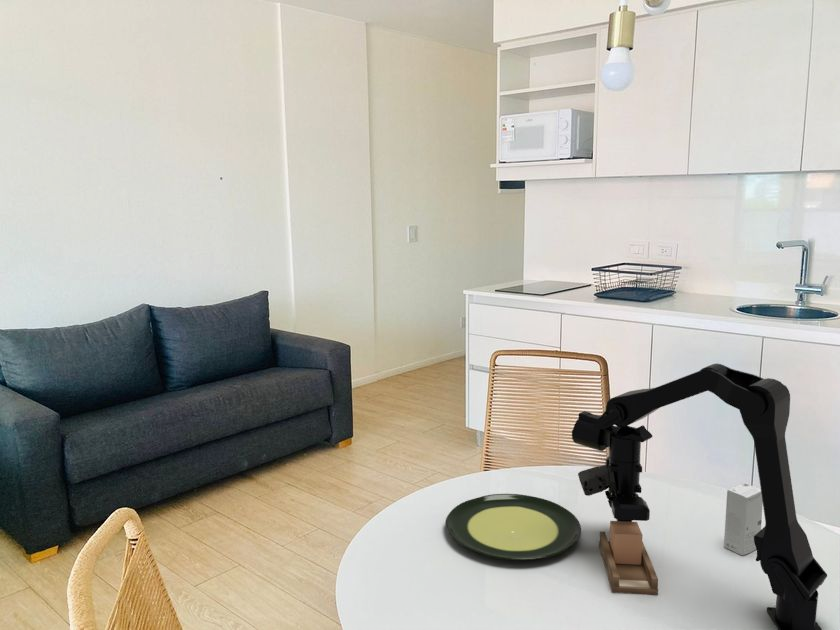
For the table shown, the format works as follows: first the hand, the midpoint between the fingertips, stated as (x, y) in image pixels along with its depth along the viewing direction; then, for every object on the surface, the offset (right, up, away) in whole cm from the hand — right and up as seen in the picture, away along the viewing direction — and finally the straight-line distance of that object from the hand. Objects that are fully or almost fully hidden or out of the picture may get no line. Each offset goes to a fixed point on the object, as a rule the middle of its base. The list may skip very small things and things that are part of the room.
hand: (621, 532), depth 129 cm
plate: (-20, -3, +9) cm, 22 cm away
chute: (-1, -5, -6) cm, 8 cm away
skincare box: (+24, -4, +1) cm, 24 cm away
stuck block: (-1, -3, -4) cm, 5 cm away
